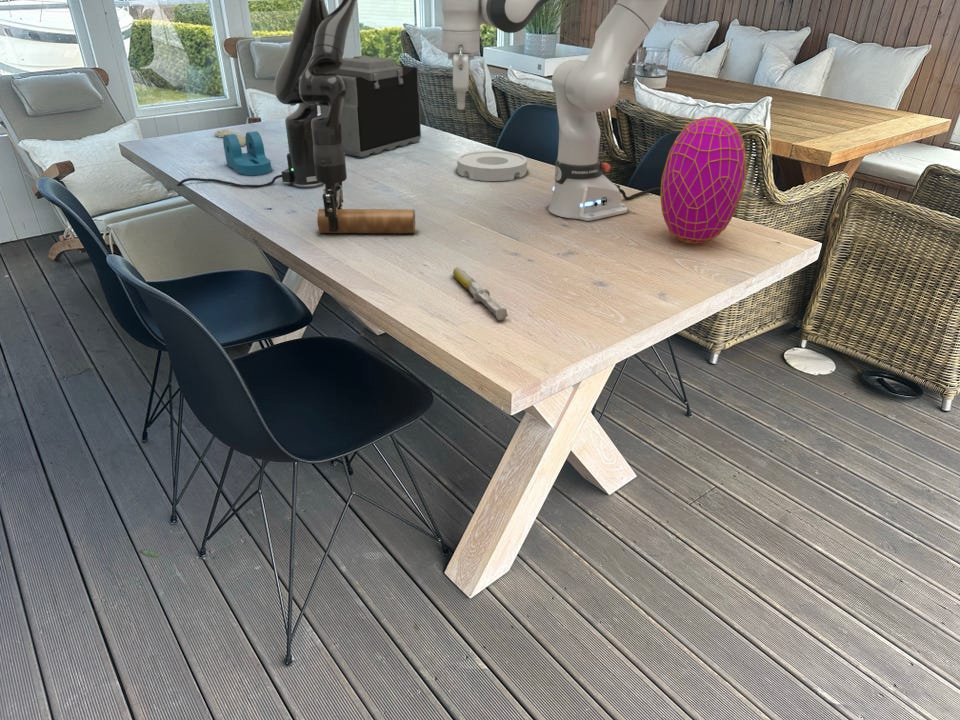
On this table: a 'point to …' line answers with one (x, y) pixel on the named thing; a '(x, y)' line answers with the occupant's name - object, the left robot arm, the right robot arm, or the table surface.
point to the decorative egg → (703, 179)
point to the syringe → (479, 293)
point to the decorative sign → (226, 132)
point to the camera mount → (246, 154)
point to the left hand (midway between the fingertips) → (336, 226)
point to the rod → (369, 221)
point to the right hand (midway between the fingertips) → (461, 105)
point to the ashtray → (492, 165)
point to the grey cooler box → (378, 105)
